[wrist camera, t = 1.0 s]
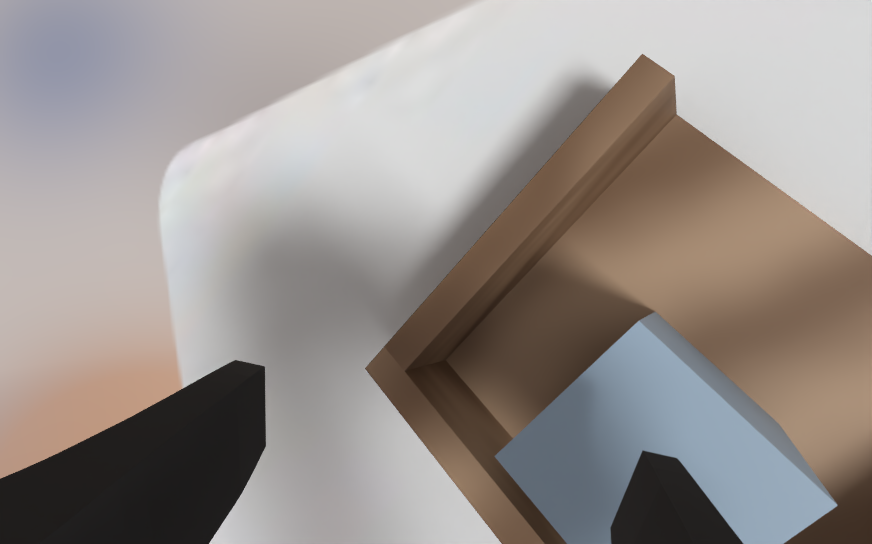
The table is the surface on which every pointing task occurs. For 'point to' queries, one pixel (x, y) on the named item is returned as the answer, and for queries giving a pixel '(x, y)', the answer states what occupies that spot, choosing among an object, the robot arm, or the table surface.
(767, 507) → the slate block
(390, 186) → the table surface
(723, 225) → the walnut crate
